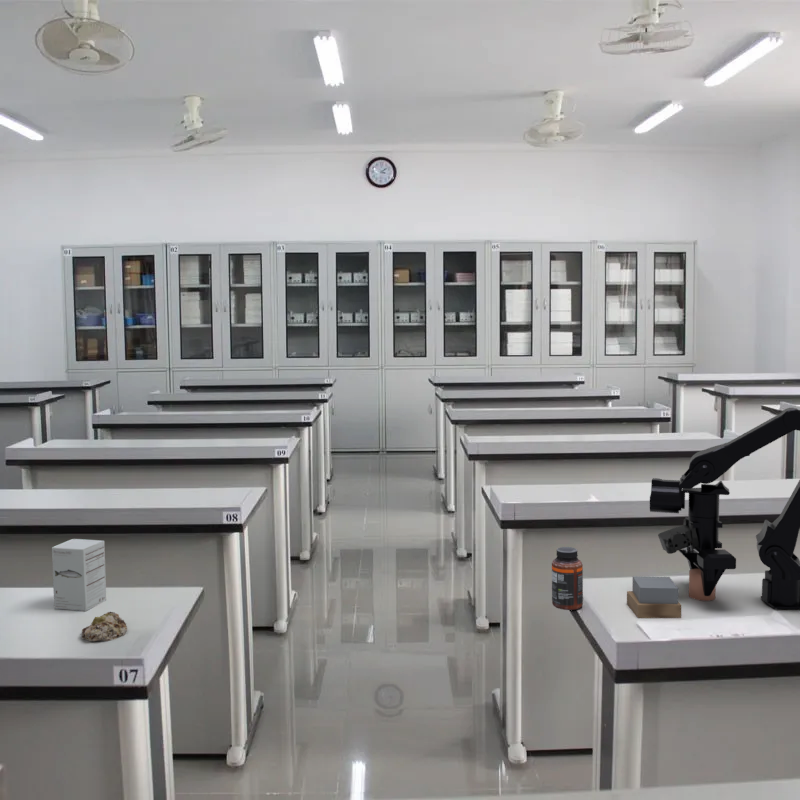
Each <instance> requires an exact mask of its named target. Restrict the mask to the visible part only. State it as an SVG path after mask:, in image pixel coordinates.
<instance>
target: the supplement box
mask: <svg viewBox="0 0 800 800" xmlns="http://www.w3.org/2000/svg"><path fill="white" fill-rule="evenodd" d="M105 550H106V549H105V540H100V539H99V540H98V539H84V538H83V539H82V538H72V539H68V540H67V541H64V542H61V543H59V544H57V545H55V546H52V547H51V559H52V583H53V585H52V586H53V608H54V610H57V609H60V610H73V611H80V612H81V611H82V612H87V611H88V610H91V609H92V608H94V607H97V606H98V605H100V604H102V603H103V602H105V601H107V581H106V580H107V578H106V552H105Z"/></svg>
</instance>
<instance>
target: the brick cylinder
mask: <svg viewBox="0 0 800 800" xmlns="http://www.w3.org/2000/svg"><path fill="white" fill-rule="evenodd" d="M688 573H689V574H688V596H689V598H691V599H693V600H696V601H705V602H706V601H714V600H715V599H716V586H717V585H716V586H715V588H714V590H713V591H712V593H711V595H710V596H705V595H704V592H703V586H702V578H701V571H700V569H691V570H690V569H689V572H688Z"/></svg>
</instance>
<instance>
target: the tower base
mask: <svg viewBox="0 0 800 800" xmlns="http://www.w3.org/2000/svg"><path fill="white" fill-rule="evenodd" d="M626 605H627V606H628V607H629V608H630V609H631V612H632V613H634V615H635V616H636V617H637V619H682V604H681V602H680V601H678V604H646V603H639V601H638V600H637V598H636V596H635V595H634V593H633V591H632V590H627V591H626Z"/></svg>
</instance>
